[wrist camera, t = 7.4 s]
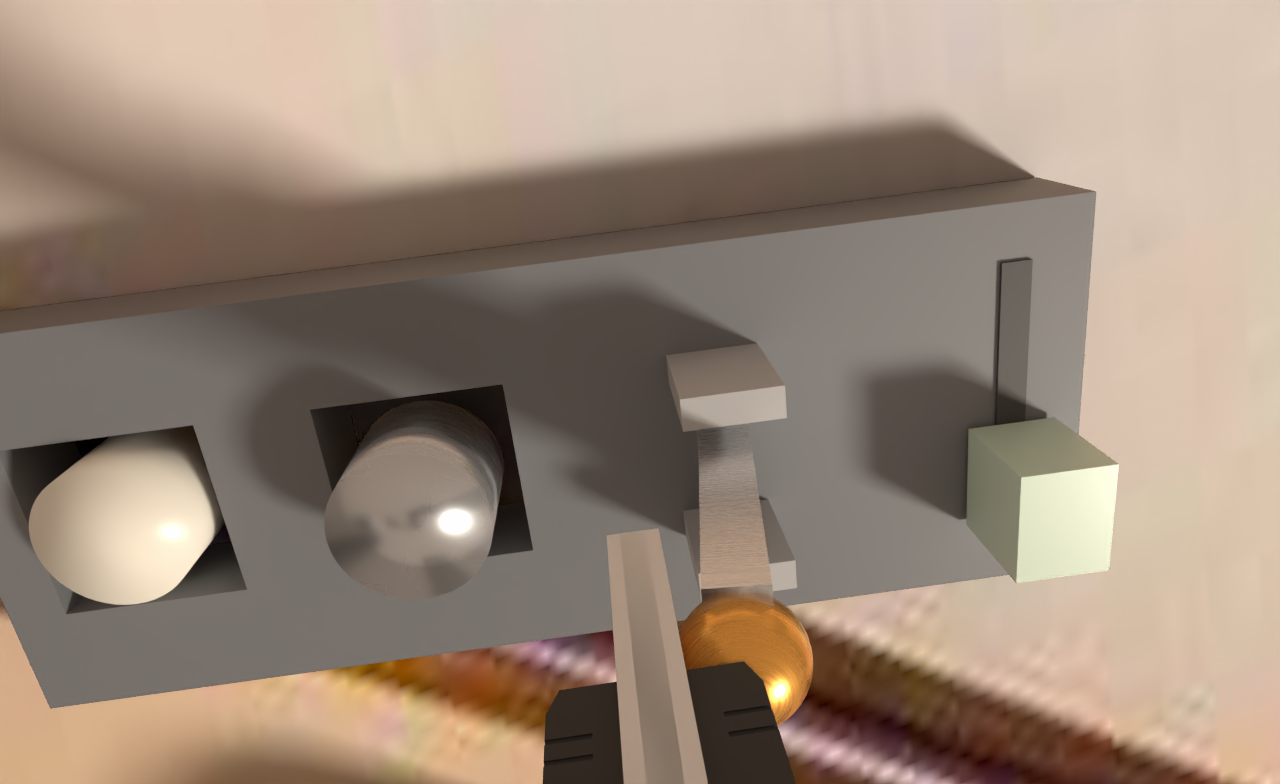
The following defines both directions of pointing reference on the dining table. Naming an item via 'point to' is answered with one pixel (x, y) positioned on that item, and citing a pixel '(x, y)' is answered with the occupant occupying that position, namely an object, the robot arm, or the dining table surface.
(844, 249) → the panel
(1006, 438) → the slider
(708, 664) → the lever
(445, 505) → the grey button
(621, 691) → the robot arm
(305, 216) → the dining table surface
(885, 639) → the dining table surface
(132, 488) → the ivory button
